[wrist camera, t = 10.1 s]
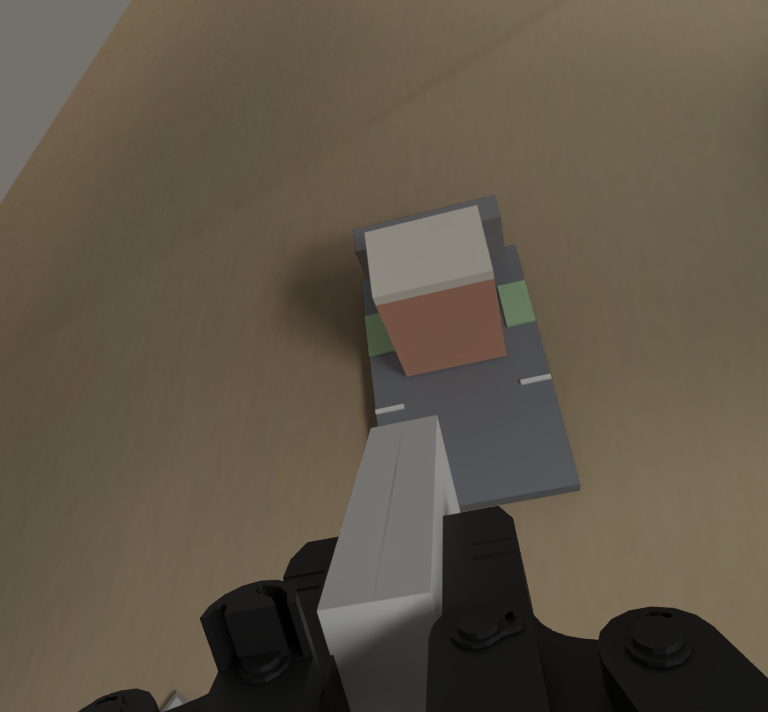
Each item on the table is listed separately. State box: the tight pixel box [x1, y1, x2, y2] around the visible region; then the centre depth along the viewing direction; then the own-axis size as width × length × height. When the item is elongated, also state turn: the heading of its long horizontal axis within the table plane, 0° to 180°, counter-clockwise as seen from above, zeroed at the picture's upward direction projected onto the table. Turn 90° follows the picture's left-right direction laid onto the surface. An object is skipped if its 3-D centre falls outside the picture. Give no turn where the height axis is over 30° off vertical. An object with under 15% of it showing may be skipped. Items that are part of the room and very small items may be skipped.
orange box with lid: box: [365, 205, 507, 377], centre depth 44 cm, size 7×5×10 cm
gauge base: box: [353, 195, 580, 512], centre depth 45 cm, size 12×19×7 cm, turn 7°
